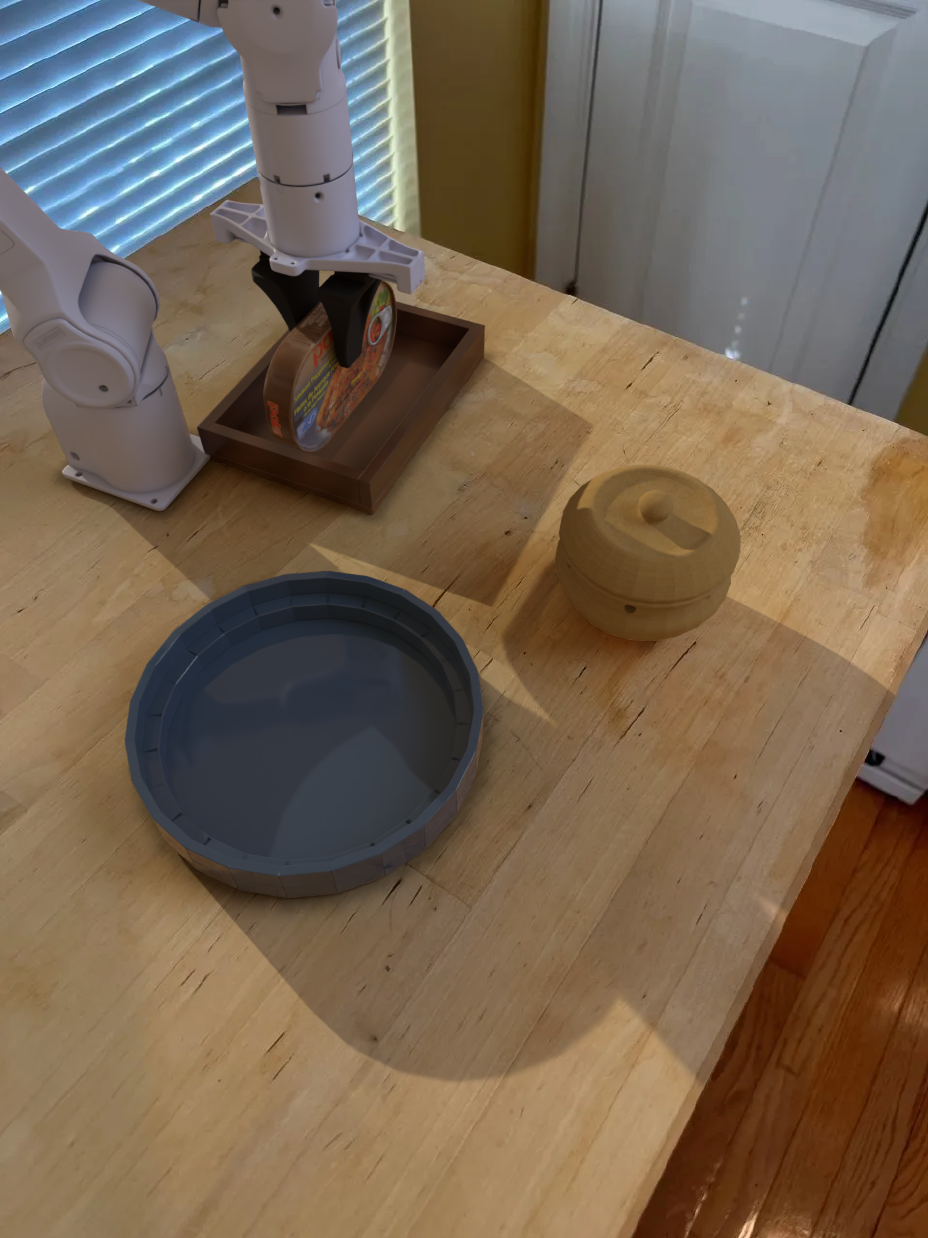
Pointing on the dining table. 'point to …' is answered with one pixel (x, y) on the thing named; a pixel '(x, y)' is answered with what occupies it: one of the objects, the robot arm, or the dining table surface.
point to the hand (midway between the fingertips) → (331, 353)
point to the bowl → (306, 733)
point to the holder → (355, 415)
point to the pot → (646, 552)
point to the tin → (324, 375)
